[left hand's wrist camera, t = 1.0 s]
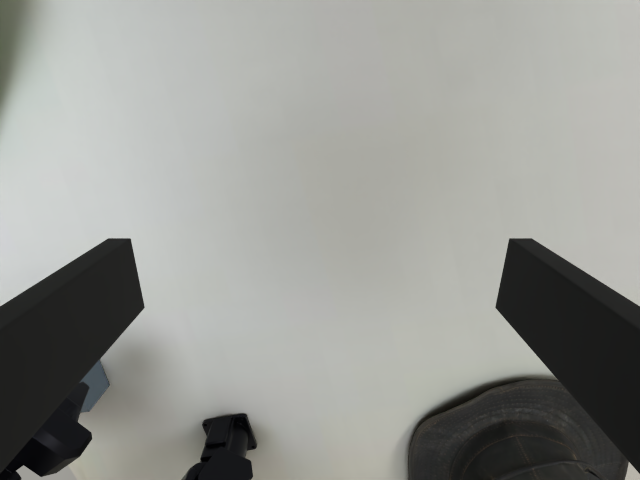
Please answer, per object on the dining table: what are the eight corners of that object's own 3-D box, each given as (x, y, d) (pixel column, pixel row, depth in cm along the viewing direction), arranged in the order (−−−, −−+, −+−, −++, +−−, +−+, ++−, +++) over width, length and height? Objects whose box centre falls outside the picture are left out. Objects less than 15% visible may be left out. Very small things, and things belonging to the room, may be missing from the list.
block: (79, 388, 49) (55, 415, 45) (67, 361, 48) (41, 387, 43) (109, 385, 49) (89, 411, 45) (98, 358, 48) (76, 383, 43)
